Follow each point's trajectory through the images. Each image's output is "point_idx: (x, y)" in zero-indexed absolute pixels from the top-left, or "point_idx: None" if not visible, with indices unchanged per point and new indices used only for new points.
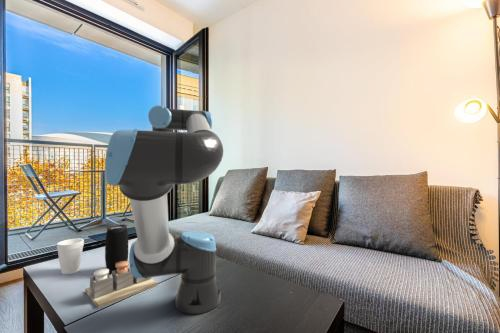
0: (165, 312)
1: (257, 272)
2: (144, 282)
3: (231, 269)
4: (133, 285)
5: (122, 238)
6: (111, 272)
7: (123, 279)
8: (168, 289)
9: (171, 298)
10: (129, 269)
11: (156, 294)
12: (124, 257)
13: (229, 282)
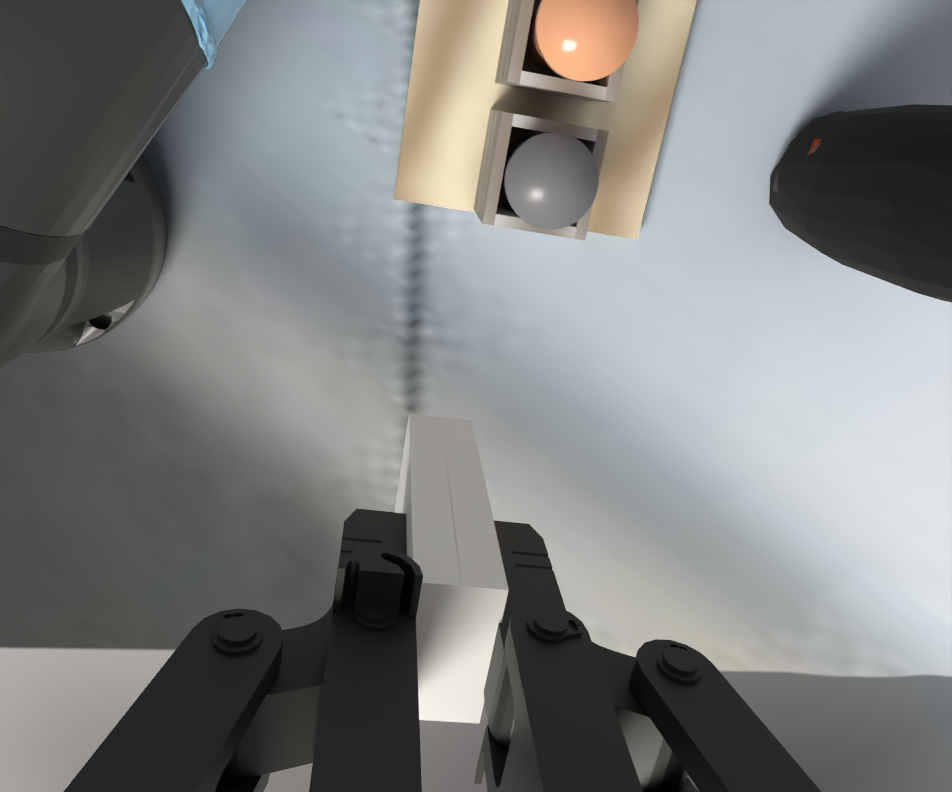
0: None
1: (35, 641)
2: (466, 152)
3: (190, 589)
4: (490, 83)
5: (909, 212)
6: (812, 122)
7: (515, 9)
8: (293, 205)
9: (183, 144)
10: (553, 79)
11: (300, 122)
12: (805, 205)
13: (68, 467)
